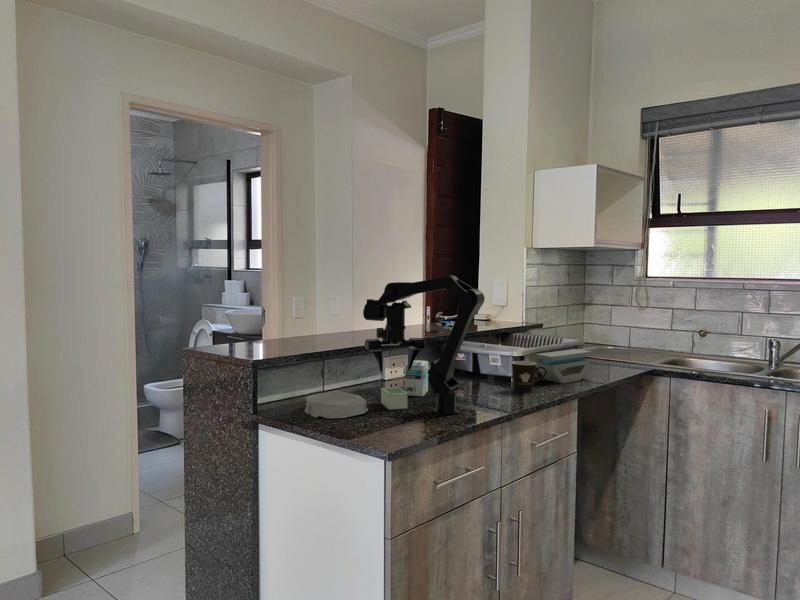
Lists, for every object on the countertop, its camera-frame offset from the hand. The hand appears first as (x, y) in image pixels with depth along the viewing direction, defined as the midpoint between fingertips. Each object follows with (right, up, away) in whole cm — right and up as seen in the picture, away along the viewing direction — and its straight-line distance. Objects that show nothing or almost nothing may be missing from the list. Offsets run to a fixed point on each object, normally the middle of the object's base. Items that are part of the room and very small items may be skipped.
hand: (394, 370), depth 198 cm
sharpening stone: (+66, -9, +47) cm, 82 cm away
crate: (0, -11, +1) cm, 11 cm away
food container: (-18, -12, -7) cm, 22 cm away
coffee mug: (+47, -10, +26) cm, 55 cm away
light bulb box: (+7, -10, +20) cm, 24 cm away
